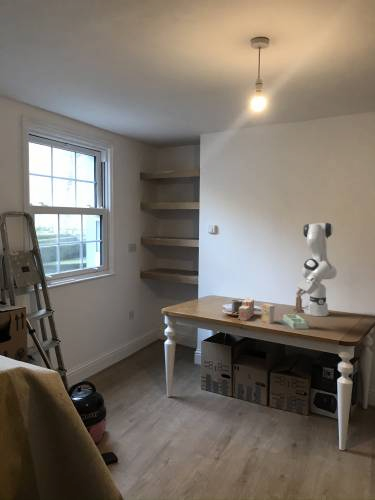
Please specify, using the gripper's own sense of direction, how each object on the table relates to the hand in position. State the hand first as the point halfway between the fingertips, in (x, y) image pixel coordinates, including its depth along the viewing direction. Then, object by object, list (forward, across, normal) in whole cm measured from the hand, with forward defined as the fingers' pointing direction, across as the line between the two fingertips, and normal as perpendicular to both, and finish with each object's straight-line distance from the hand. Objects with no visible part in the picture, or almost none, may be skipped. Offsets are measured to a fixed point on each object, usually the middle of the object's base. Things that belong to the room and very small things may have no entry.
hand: (298, 295), depth 263 cm
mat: (+15, -6, +16) cm, 23 cm away
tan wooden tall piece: (+8, 0, +9) cm, 12 cm away
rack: (+15, -6, +16) cm, 23 cm away
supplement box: (+28, -12, +4) cm, 31 cm away
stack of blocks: (+37, -27, -5) cm, 46 cm away
